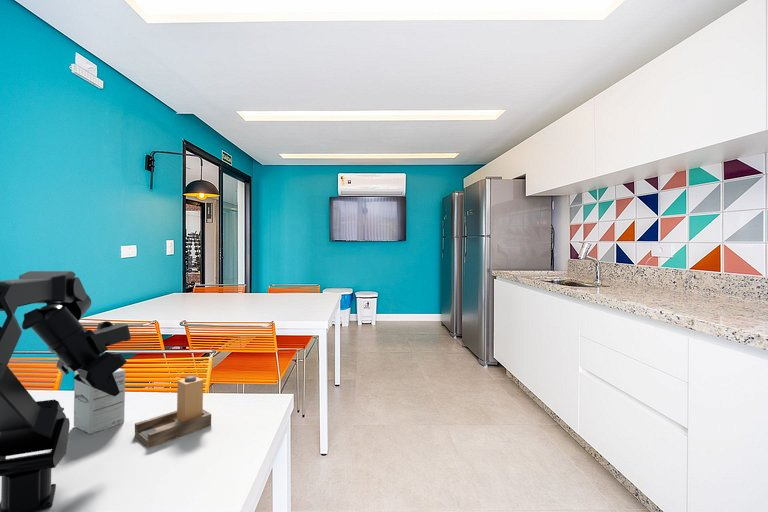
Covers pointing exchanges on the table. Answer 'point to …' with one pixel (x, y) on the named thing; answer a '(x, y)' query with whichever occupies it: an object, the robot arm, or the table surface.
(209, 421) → the box
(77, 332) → the robot arm
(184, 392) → the block
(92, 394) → the supplement box
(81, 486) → the table surface
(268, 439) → the table surface
